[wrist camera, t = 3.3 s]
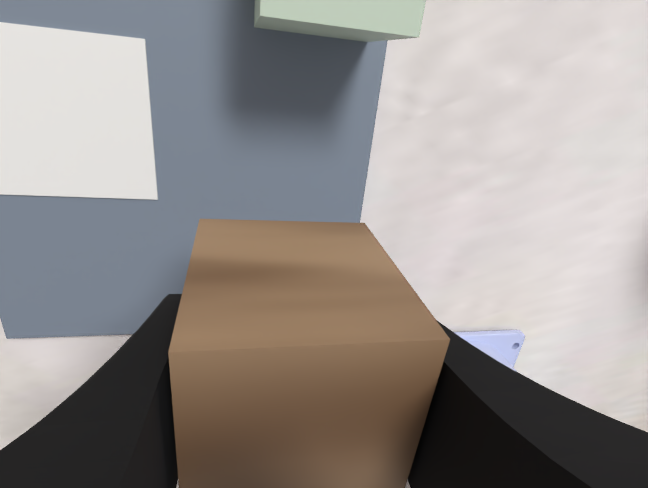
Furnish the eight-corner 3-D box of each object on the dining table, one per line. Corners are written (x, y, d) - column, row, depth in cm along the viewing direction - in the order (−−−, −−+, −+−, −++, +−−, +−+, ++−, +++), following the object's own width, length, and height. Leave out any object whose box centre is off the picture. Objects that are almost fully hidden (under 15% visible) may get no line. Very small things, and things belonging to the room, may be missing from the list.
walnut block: (344, 347, 13) (399, 503, 8) (203, 353, 12) (182, 535, 7) (364, 222, 11) (450, 339, 6) (199, 218, 10) (168, 352, 5)
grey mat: (341, 319, 22) (344, 327, 21) (13, 330, 18) (5, 339, 18) (411, -157, 13) (419, -167, 13) (-169, -302, 10) (-196, -325, 9)
